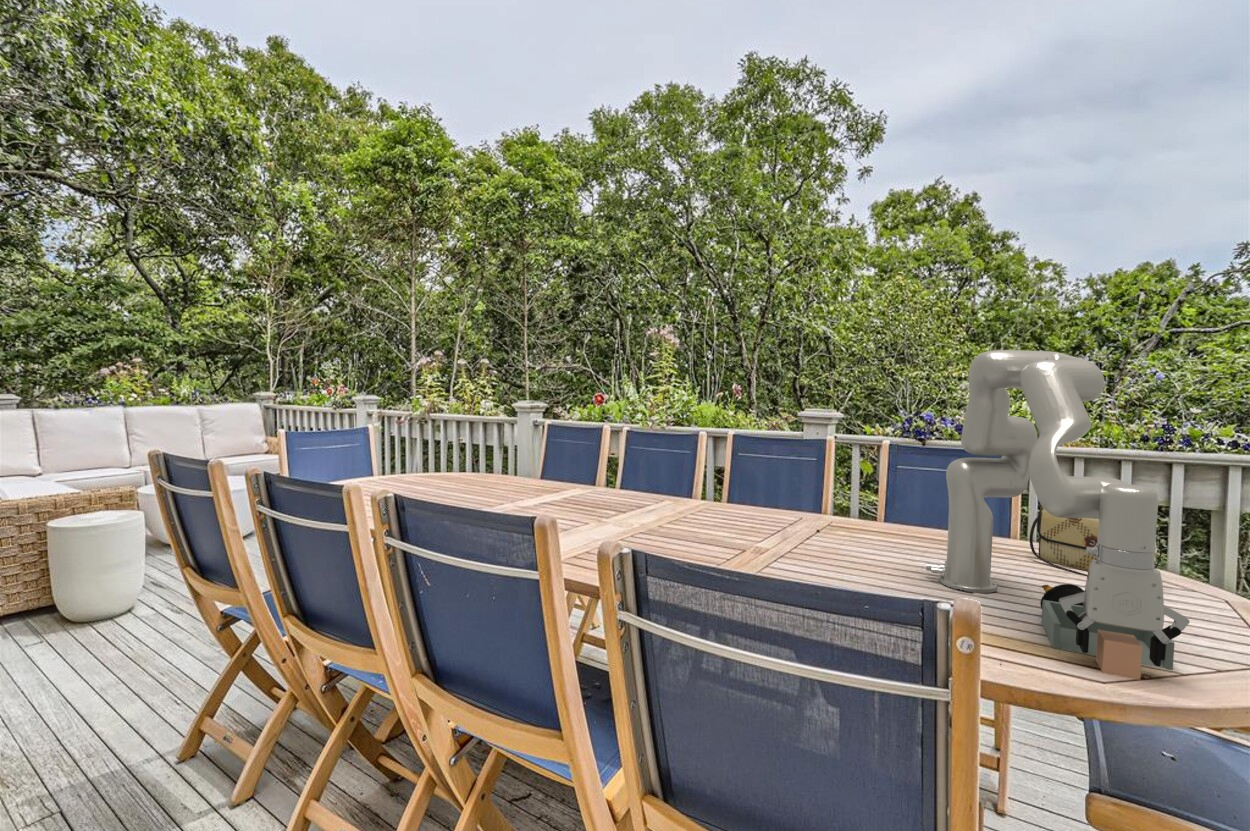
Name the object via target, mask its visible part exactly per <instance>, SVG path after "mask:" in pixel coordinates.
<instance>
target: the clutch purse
mask: <svg viewBox="0 0 1250 831" xmlns="http://www.w3.org/2000/svg"><path fill="white" fill-rule="evenodd" d="M1036 525H1037V527H1036ZM1098 525H1099V519H1091V518H1061V517H1056V516H1053V515H1051V514H1049V513H1048V512H1047V511H1046V510H1045V509H1044V508H1043V507H1040V509H1039V510H1038V512H1036V518H1035V519H1034V520H1033V523H1032V525H1031V528H1030V532H1029V546H1030V549H1031V552H1032V554H1033V555H1034V556H1035V557H1036V558H1038V560H1040V561H1042V562H1044V563H1046V564H1048V565H1049V566H1052V567H1055V568H1057V569H1061V570H1064V571H1067V572H1071V573H1075V574H1078V575H1081V576H1082V577H1083V576H1085V577H1087V575H1088V574H1085V573H1083V572H1079V571H1075V570H1074V569H1069V568H1067V567H1071V568H1076V569H1079V570H1083V571H1087V572H1088V571H1089V567H1090V564H1091V562H1092V560H1096V559H1097V558H1096V557H1095V556H1092V555H1089V554H1087V553H1086V548H1087V547H1092V546H1093V547H1095V545H1096V543H1097V541H1098ZM1035 528H1037V529H1036V530H1037V533H1038V537H1039V538H1038V553H1037V552H1036V550H1035V548H1034V539H1033V538H1034V532H1035ZM1158 534H1159V530H1158V529H1157V528H1156V541H1157V542H1158V544H1159V555H1158V557H1157V558H1158V559H1157V563H1156V565H1154V568H1155V569H1158V566H1159V563H1160V561H1161V558H1162V553H1163V547H1162V542H1161V536H1159V535H1158ZM1054 563H1055V564H1054ZM1057 564H1059V565H1063V566H1066V567H1063V566H1059V565H1057Z"/></svg>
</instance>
